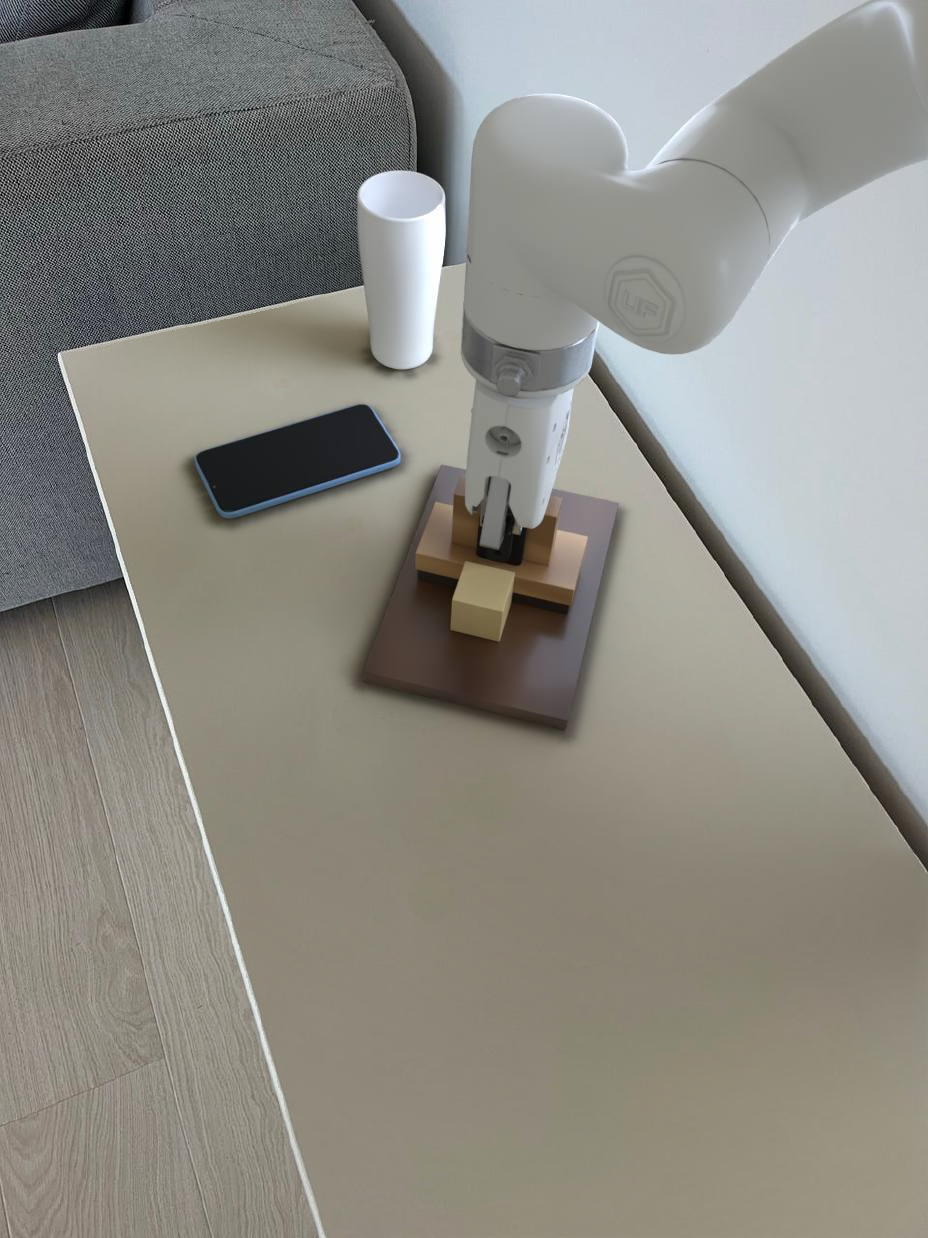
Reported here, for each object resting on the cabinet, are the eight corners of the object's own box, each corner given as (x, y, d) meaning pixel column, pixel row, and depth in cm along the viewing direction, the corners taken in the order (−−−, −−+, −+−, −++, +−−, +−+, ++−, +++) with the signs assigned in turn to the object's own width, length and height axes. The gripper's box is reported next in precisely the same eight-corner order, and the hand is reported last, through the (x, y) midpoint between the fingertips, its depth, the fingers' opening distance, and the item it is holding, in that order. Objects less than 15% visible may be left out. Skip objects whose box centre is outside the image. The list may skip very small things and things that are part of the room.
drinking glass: (425, 319, 95) (428, 162, 83) (452, 368, 92) (459, 211, 80) (352, 335, 94) (344, 176, 82) (376, 385, 90) (372, 227, 78)
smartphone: (405, 457, 84) (221, 517, 80) (405, 465, 85) (222, 524, 80) (367, 397, 88) (189, 451, 83) (367, 405, 89) (191, 458, 84)
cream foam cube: (511, 603, 76) (515, 572, 73) (499, 642, 74) (503, 611, 71) (463, 591, 76) (465, 560, 73) (450, 630, 74) (451, 599, 71)
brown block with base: (434, 528, 80) (436, 451, 73) (582, 563, 78) (598, 487, 72) (415, 579, 77) (415, 504, 70) (568, 616, 75) (584, 542, 69)
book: (616, 513, 83) (619, 502, 82) (566, 730, 71) (568, 721, 70) (440, 474, 84) (441, 464, 83) (363, 681, 73) (363, 671, 72)
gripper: (565, 444, 55) (530, 647, 70) (619, 263, 64) (578, 477, 79) (424, 413, 56) (420, 620, 71) (497, 238, 65) (479, 454, 80)
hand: (503, 543), depth 75 cm, fingers closed on brown block with base
